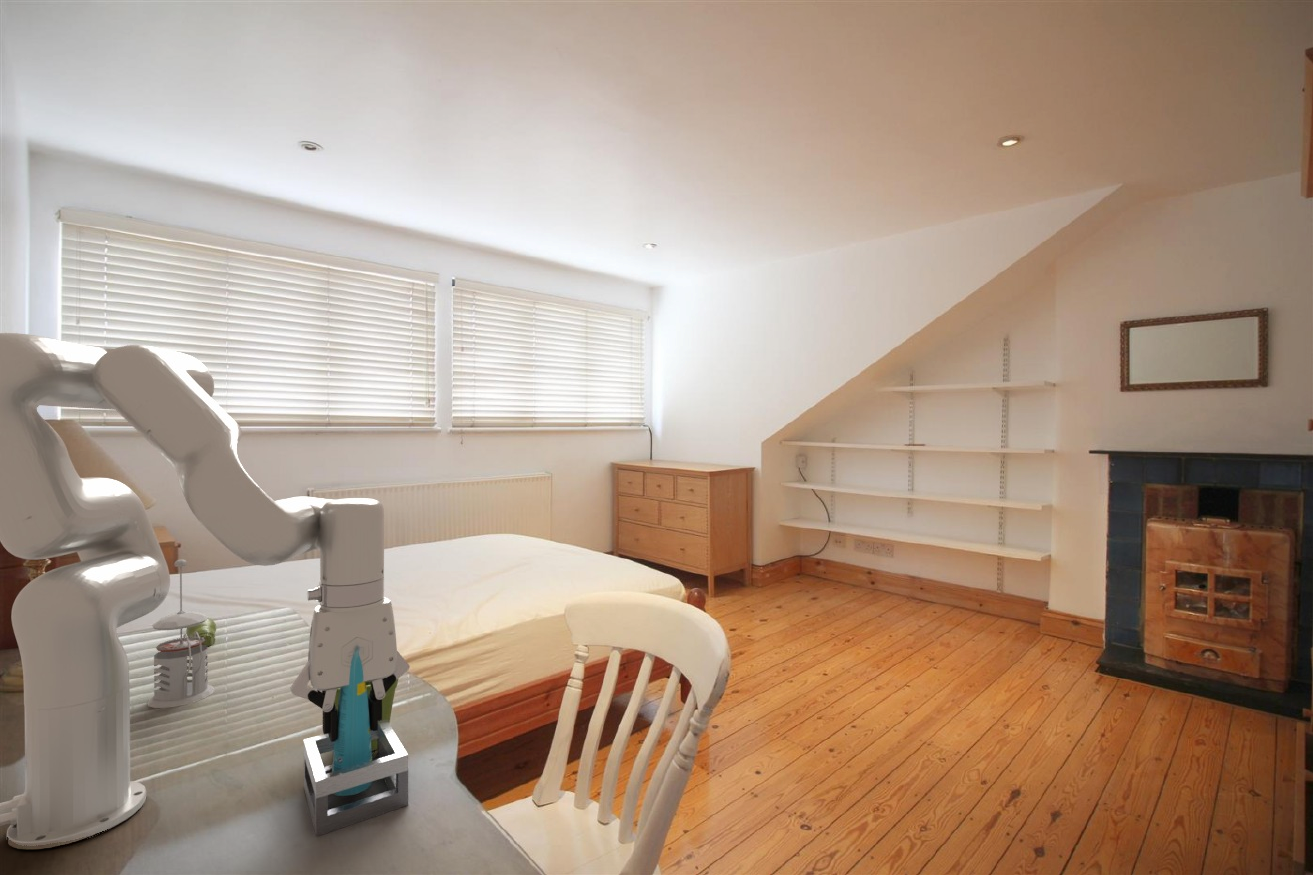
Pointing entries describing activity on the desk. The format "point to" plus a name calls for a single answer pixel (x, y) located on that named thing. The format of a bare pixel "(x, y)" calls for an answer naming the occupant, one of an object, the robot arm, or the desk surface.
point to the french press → (181, 660)
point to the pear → (204, 631)
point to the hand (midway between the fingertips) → (352, 730)
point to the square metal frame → (355, 780)
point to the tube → (353, 726)
